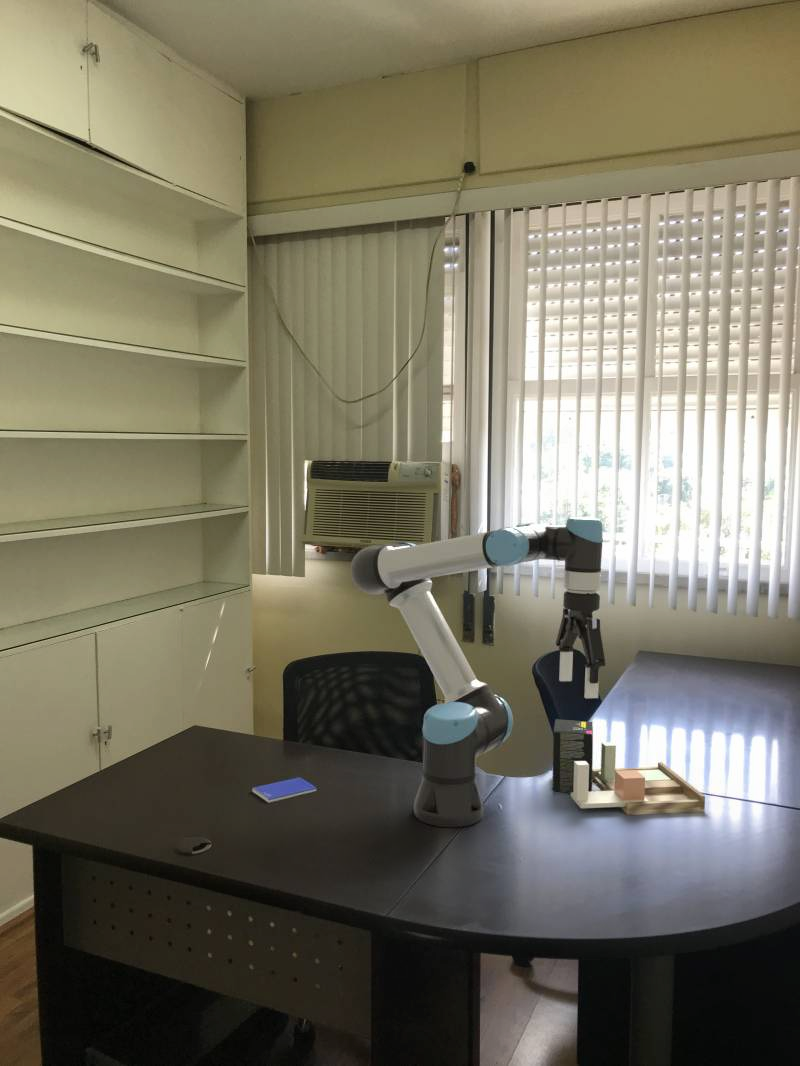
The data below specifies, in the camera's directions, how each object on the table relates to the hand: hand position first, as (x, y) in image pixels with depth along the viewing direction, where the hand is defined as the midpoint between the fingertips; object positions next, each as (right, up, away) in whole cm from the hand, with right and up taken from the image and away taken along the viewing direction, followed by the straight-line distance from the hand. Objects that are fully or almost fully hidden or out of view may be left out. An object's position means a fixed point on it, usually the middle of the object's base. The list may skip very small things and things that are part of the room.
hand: (577, 689), depth 183 cm
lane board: (+19, -28, +17) cm, 38 cm away
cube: (+14, -26, +10) cm, 31 cm away
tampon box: (+3, -27, +22) cm, 36 cm away
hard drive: (-65, -28, +17) cm, 73 cm away
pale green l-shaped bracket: (+18, -26, +23) cm, 39 cm away
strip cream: (+9, -27, +10) cm, 30 cm away
